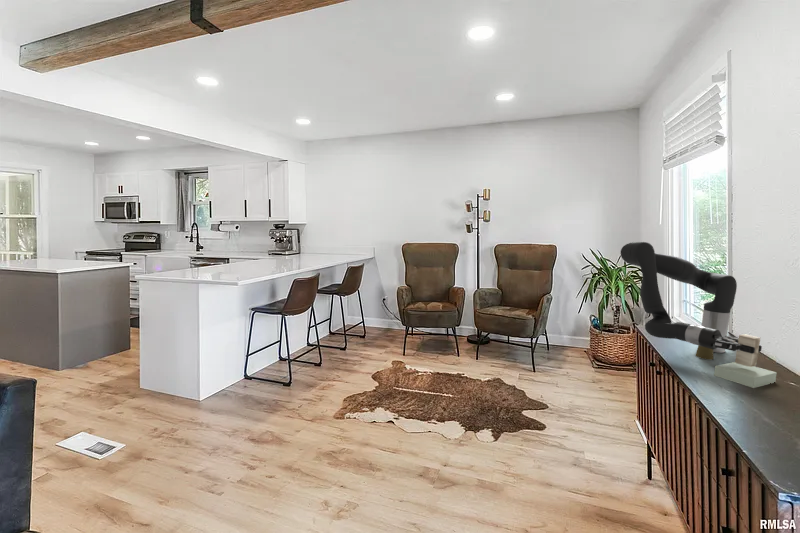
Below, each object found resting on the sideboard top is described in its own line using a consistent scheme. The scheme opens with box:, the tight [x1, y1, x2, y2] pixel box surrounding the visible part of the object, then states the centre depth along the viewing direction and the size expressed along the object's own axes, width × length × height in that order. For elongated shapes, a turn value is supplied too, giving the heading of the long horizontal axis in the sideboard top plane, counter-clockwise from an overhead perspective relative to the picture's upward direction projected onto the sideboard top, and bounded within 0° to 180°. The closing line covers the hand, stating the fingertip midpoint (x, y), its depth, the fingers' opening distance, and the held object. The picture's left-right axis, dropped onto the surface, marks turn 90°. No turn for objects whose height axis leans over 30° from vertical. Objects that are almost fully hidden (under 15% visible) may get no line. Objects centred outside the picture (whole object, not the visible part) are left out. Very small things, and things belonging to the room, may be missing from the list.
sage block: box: [713, 361, 777, 389], centre depth 148 cm, size 14×12×4 cm
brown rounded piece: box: [695, 345, 714, 361], centre depth 171 cm, size 6×6×11 cm
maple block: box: [734, 333, 761, 367], centre depth 147 cm, size 4×4×10 cm
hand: (757, 349), depth 145 cm, fingers closed on maple block, 4 cm apart
